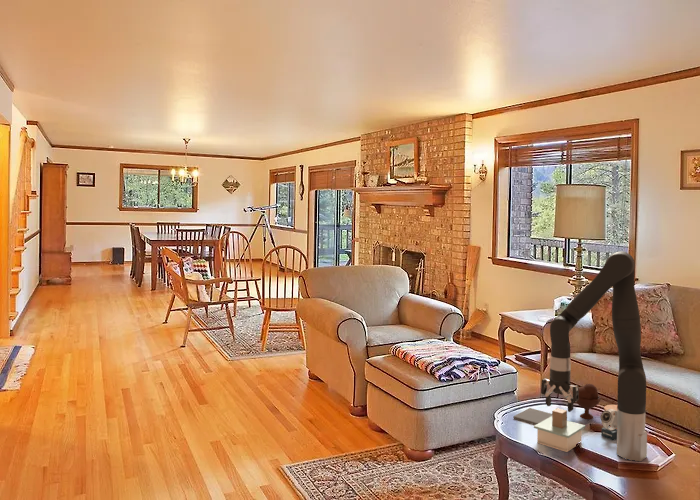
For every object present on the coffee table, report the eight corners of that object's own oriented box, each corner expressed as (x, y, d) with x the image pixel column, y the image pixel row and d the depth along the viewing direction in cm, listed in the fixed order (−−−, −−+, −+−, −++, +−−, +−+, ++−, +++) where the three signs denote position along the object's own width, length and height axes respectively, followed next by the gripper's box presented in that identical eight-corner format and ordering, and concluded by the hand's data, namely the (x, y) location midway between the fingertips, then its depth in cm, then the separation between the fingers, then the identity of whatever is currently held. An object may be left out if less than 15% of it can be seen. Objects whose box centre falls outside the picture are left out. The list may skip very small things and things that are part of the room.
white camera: (633, 425, 240) (634, 403, 239) (630, 434, 231) (630, 411, 230) (605, 420, 245) (606, 399, 245) (601, 429, 236) (602, 406, 236)
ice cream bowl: (595, 412, 254) (595, 379, 253) (603, 422, 243) (604, 387, 242) (570, 412, 256) (570, 379, 254) (577, 421, 244) (578, 387, 243)
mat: (563, 419, 248) (563, 416, 248) (547, 428, 238) (547, 426, 238) (529, 410, 259) (529, 407, 259) (513, 418, 250) (513, 416, 250)
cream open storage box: (581, 442, 224) (581, 427, 223) (566, 452, 215) (567, 436, 215) (552, 433, 232) (552, 419, 232) (537, 442, 224) (537, 427, 224)
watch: (597, 436, 229) (598, 409, 228) (611, 432, 233) (612, 406, 232) (609, 441, 224) (610, 414, 223) (623, 437, 228) (624, 410, 227)
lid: (585, 429, 223) (585, 410, 223) (568, 440, 214) (568, 420, 213) (551, 420, 233) (551, 401, 233) (533, 430, 224) (533, 410, 223)
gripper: (582, 369, 219) (581, 410, 220) (547, 362, 229) (546, 401, 231) (573, 373, 214) (572, 416, 215) (538, 365, 224) (537, 406, 225)
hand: (559, 408), depth 223 cm, fingers open, 8 cm apart
